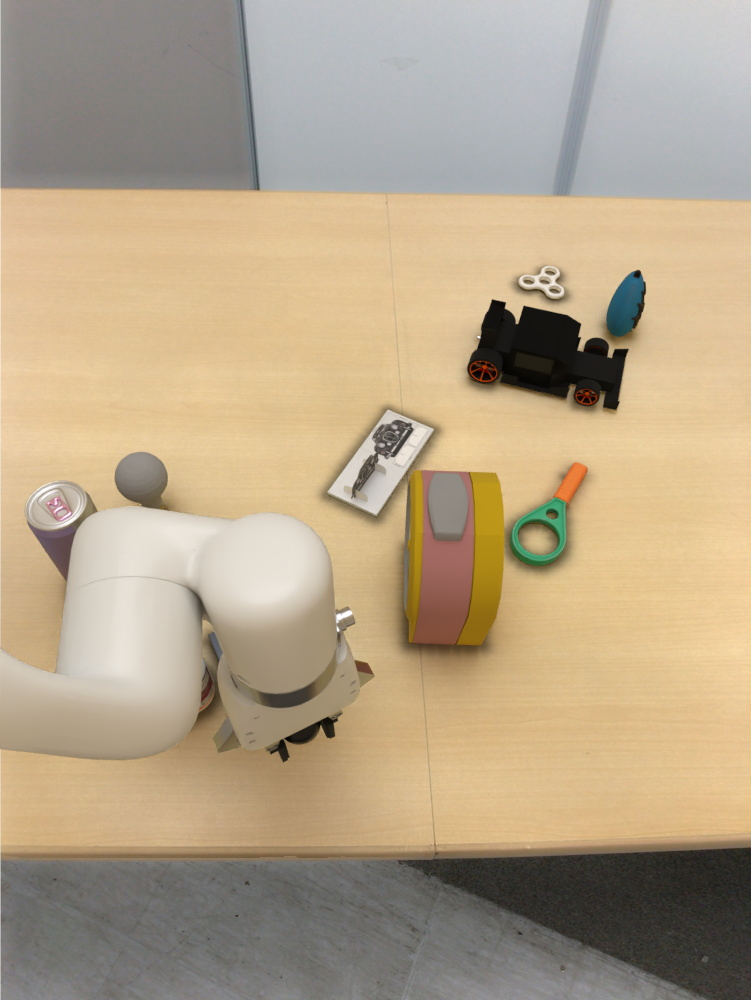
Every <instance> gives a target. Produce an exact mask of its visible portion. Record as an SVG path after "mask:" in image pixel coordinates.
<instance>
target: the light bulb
mask: <svg viewBox="0 0 751 1000" xmlns="http://www.w3.org/2000/svg"><path fill="white" fill-rule="evenodd" d="M168 477H169V475H168V470H167V468H166V465H165V463H164V462H163V461H162V460H161V459H160V458H159V457H157V456H156V455H154V454H152V453H150V452H146V451H135V452H131V453H129V454H127V455H125V456H124V457H123V458H122V459H121V460H120V461H119V462H118V464H117V465H116V468H115V471H114V484H115V486H116V489H117V491H118V492H119V493H120V495H122V497H123V498H125V499H126V500H128V501H129V502H132V503H134V504H135V503H136V504H139V505H141V507H146V508H153V509H161V510H166V509H165V506H164V504H163V499H162V495H163V494H164V492H165V490H166V489H167V487H168V481H169V480H168Z"/></svg>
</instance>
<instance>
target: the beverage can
mask: <svg viewBox="0 0 751 1000" xmlns="http://www.w3.org/2000/svg"><path fill="white" fill-rule="evenodd" d="M96 512H98V508H97V507H96V505H95V503H94V501H93V498H92V497H91V495H90V493H88V492H87V490H85V489H84V488H83V486H81V485H80V484H79V483H77V482H74V481H71V480H66V479H62V480H61V479H60V480H53V481H50V482H47V483H45V484H43V485H41V486H39V487H38V488H36V489H35V490H34V491H33V492H32V493H31V494H30V495H29V497H28V498H27V499H26V501H25V505H24V517H25V519H26V524H27V526H28V527H29V530H30V531H31V532H32V534H33V535H34V537H35V538H36V540H37V541H38V543H39V544H40V545H41V547H42V549H43V550H44V551H45V553H46V555H47V556H48V557H49V559H50V560H51V562H52V563H53V565H54V566H55V567H56V569H57V571H58V572H59V573H60V575H61V577H62V578H63V579H64V581H65V582H66V583H67V578H68V570H69V562H70V555H71V548H72V544H73V540H74V536H75V534H76V531H77V529H78V528H79V526H80V525H81V523H82V522H83V521H84V520H85V519H86V518H88V517H89V516H91V515H92V514H94V513H96Z"/></svg>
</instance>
